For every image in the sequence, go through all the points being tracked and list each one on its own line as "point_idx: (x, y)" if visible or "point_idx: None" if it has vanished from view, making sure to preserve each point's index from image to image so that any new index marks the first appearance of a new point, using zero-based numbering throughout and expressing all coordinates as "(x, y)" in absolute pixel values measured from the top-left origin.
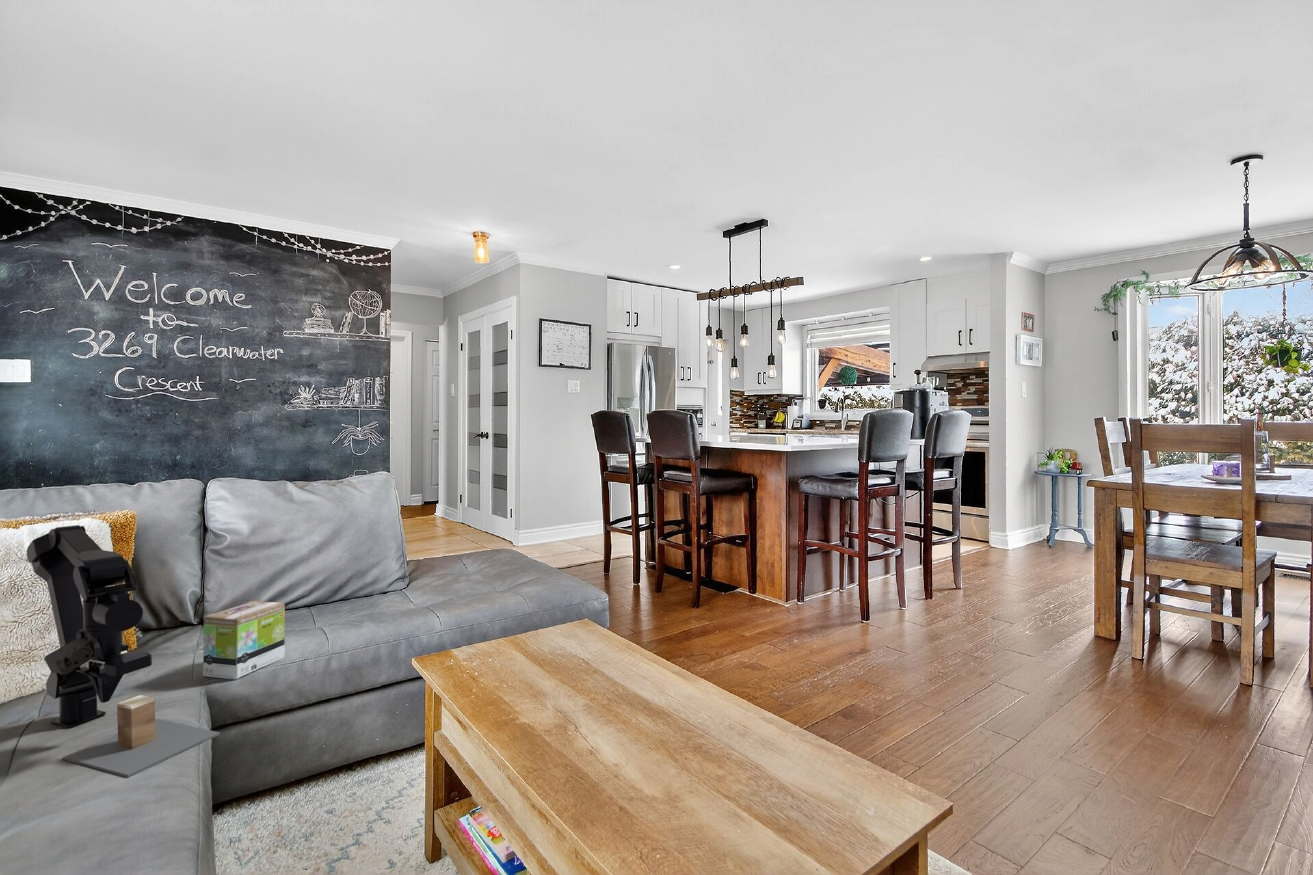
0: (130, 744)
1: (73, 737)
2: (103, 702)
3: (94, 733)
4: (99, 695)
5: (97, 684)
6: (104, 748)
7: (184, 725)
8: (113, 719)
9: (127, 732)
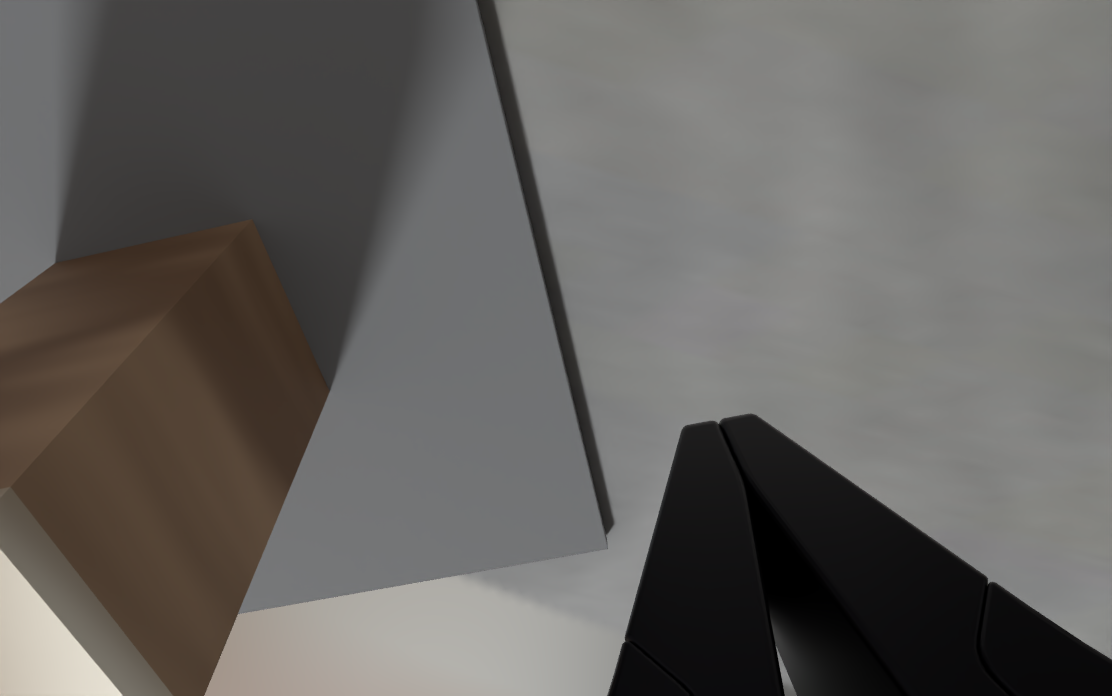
0: (57, 276)
1: (940, 51)
2: (684, 428)
3: (830, 200)
4: (759, 479)
5: (866, 668)
6: (286, 125)
7: (283, 597)
8: (978, 383)
9: (26, 324)
